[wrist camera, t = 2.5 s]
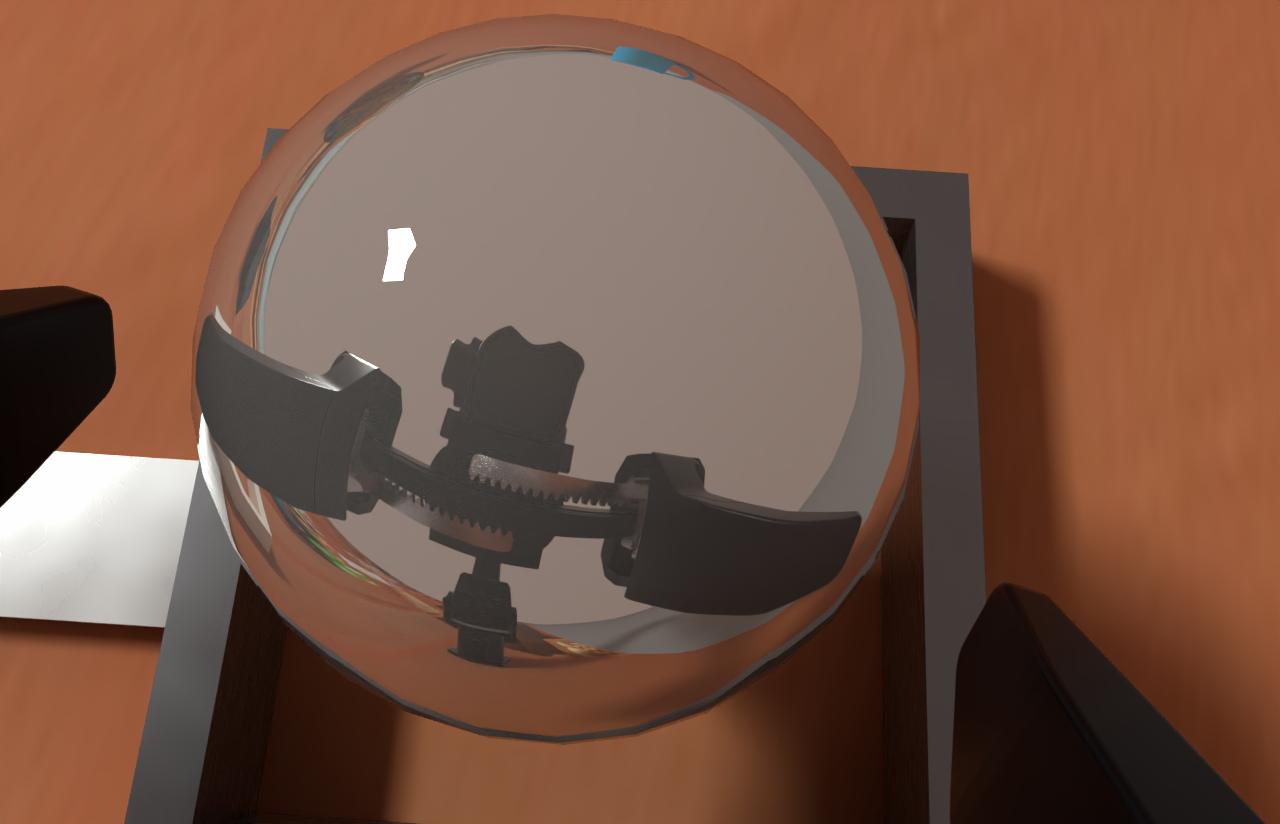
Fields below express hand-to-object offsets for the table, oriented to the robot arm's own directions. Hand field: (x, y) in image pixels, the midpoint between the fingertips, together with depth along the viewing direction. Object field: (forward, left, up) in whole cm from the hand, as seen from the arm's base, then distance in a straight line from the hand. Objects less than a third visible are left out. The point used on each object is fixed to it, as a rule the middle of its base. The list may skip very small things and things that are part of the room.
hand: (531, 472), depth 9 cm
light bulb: (+1, 0, -9) cm, 9 cm away
